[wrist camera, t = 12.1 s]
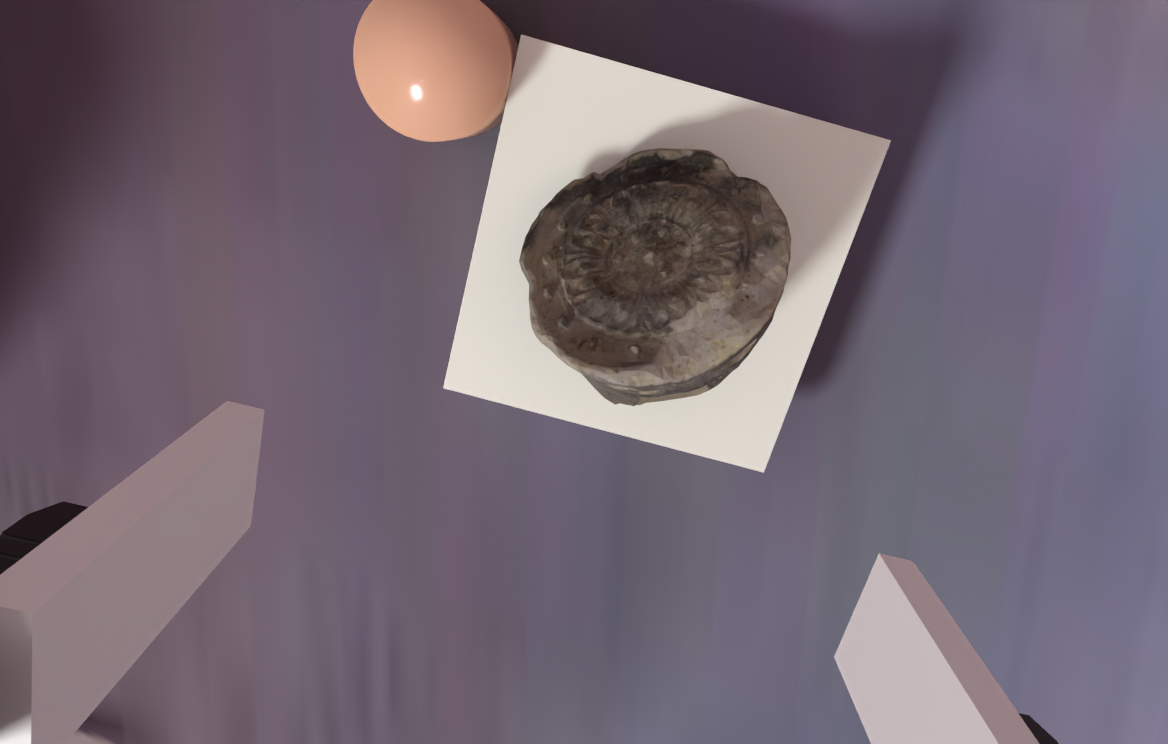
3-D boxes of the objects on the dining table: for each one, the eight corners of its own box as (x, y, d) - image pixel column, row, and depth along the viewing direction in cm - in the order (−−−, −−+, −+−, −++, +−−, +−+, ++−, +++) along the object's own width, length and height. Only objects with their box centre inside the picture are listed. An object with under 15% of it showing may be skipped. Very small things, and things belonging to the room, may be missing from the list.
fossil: (672, 77, 31) (794, 182, 23) (768, 220, 37) (889, 340, 29) (475, 250, 33) (530, 396, 26) (595, 359, 39) (668, 503, 32)
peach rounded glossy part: (384, 118, 36) (342, 118, 31) (408, -17, 34) (367, -43, 29) (506, 152, 37) (487, 159, 31) (536, 20, 35) (521, 1, 29)
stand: (459, 362, 40) (443, 388, 36) (531, 42, 35) (521, 34, 31) (750, 439, 41) (763, 472, 37) (861, 137, 36) (891, 140, 32)
